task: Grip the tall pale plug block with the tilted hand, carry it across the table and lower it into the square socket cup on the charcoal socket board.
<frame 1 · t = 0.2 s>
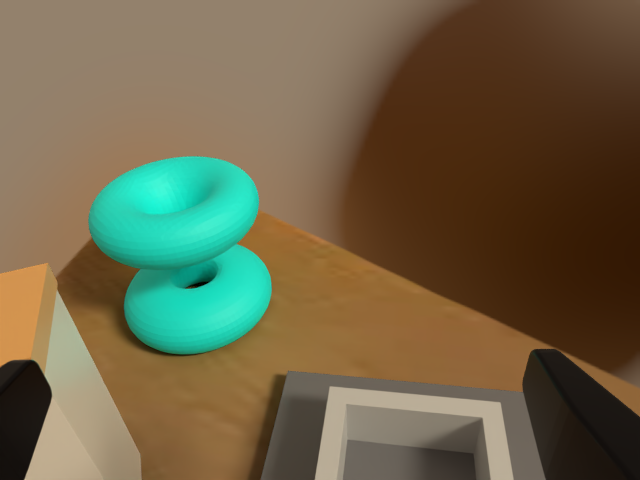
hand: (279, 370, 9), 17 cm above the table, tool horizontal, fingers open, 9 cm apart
donuts: (204, 310, 34), on the table
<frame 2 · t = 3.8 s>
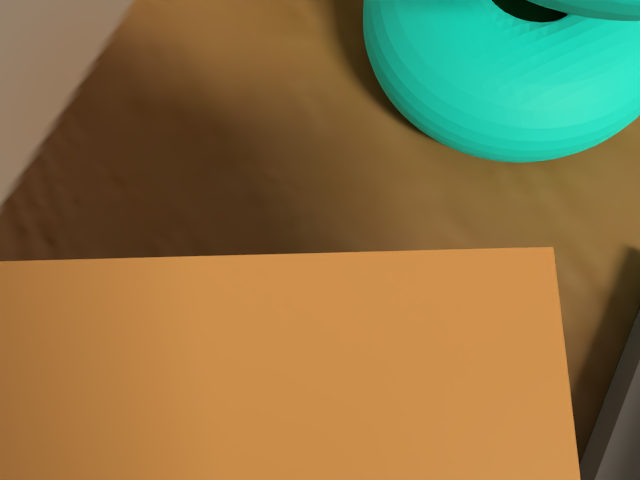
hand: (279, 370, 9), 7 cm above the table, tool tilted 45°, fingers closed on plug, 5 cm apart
plug: (308, 403, 15), on the table, touching gripper
donuts: (499, 45, 17), on the table
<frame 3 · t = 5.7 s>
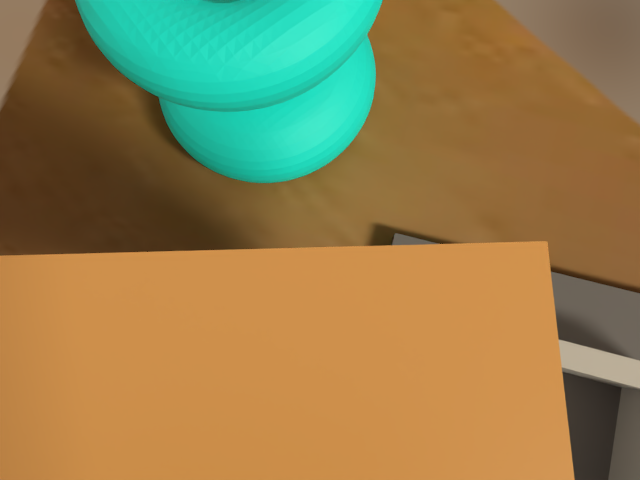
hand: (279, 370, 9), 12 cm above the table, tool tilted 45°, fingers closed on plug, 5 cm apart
plug: (308, 402, 15), point 6 cm above the table, touching gripper
socket: (519, 439, 20), on the table
donuts: (271, 95, 24), on the table
when the fingers open (9 cm above the table, at t = 7.6 s): plug drops 1 cm, resting on socket.
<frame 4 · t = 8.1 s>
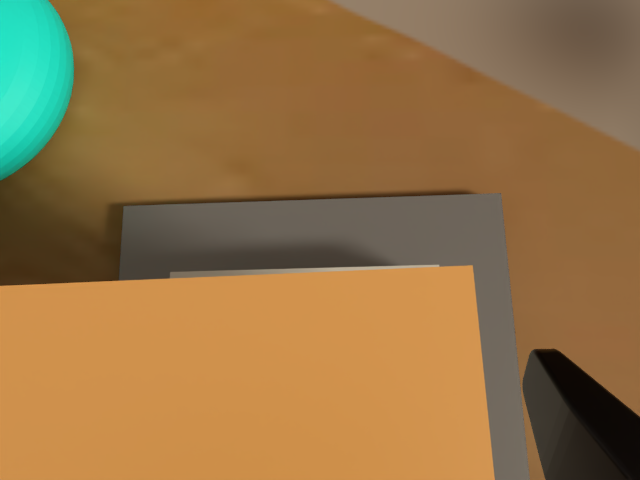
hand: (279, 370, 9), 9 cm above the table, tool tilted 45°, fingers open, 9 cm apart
plug: (309, 395, 16), point 1 cm above the table, touching socket
socket: (313, 394, 17), on the table
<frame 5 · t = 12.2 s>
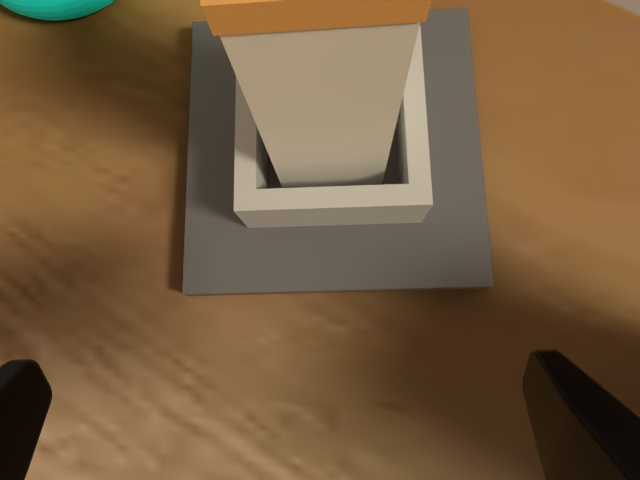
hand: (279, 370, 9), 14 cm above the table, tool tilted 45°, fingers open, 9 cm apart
plug: (330, 142, 23), point 1 cm above the table, touching socket
socket: (332, 152, 24), on the table
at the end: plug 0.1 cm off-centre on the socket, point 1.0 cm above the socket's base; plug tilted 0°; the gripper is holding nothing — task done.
